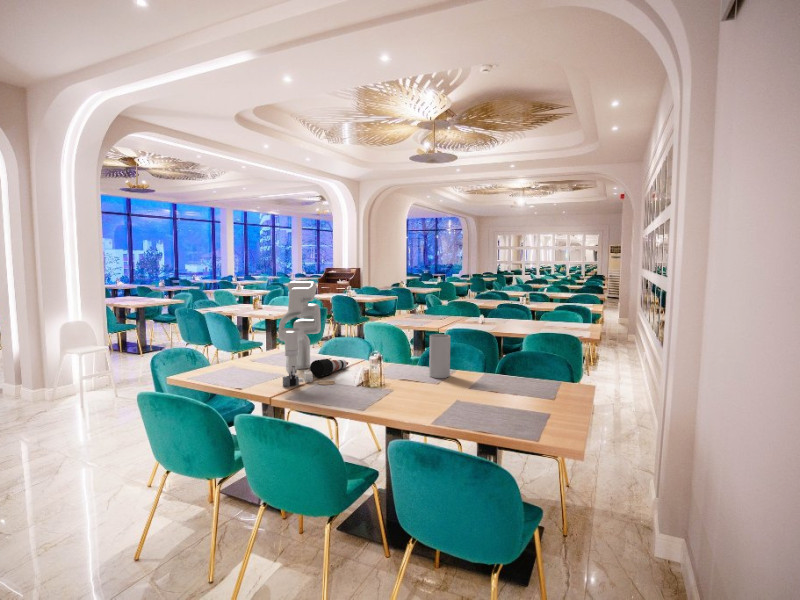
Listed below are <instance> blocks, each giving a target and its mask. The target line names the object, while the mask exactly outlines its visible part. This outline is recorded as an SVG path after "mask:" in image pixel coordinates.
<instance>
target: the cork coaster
mask: <svg viewBox="0 0 800 600" xmlns="http://www.w3.org/2000/svg"><path fill="white" fill-rule="evenodd" d="M335 383H336V380H334V379H320V380H318V381H317V385H319V386H330V385H332V386H333V385H334V384H335Z"/></svg>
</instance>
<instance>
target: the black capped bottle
mask: <svg viewBox="0 0 800 600" xmlns="http://www.w3.org/2000/svg"><path fill="white" fill-rule="evenodd" d="M310 364H311V366H310V368H309V371H311V372H312V373H313V377H315V378H319V377H325V376H328V375H331V374H332V373H333V372H337V371H340V370H343V369H345V368H347V366H348V365H349V362H348V361H347V360H345V359H333V360H331V359H329V358H323V359H315V360H313V361H312V362H310Z"/></svg>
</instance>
